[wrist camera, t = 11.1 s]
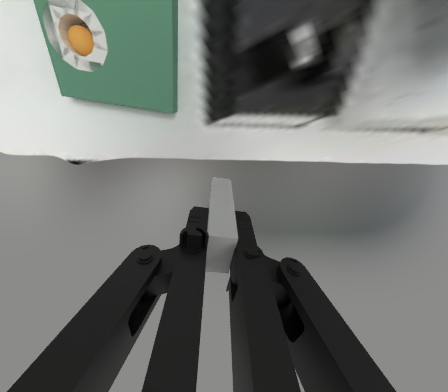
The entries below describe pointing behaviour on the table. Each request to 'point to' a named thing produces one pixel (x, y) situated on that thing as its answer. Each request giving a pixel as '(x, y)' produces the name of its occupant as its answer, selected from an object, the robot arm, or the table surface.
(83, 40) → the ball
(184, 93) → the table surface
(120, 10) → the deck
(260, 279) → the robot arm
